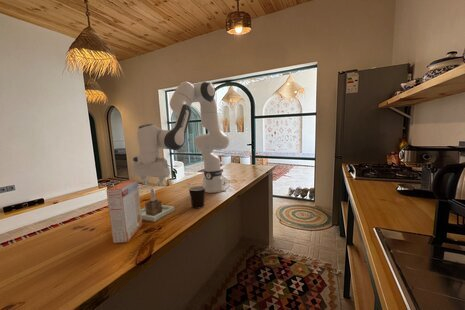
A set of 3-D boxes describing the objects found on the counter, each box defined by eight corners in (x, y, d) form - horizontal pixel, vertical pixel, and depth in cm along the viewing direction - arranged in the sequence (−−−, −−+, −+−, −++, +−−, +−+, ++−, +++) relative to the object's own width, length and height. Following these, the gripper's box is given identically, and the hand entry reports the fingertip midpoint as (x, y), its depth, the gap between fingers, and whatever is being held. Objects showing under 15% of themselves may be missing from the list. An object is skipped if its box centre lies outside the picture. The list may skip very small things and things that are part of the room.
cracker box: (129, 226, 88) (124, 180, 85) (142, 225, 88) (138, 179, 85) (111, 244, 74) (105, 189, 71) (128, 243, 74) (122, 188, 72)
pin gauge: (154, 211, 101) (152, 188, 100) (157, 212, 100) (155, 189, 99) (151, 213, 99) (149, 189, 98) (154, 213, 99) (152, 190, 98)
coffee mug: (202, 209, 104) (201, 190, 103) (187, 208, 106) (186, 190, 105) (209, 201, 115) (208, 184, 114) (195, 201, 117) (194, 184, 116)
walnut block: (154, 210, 104) (153, 199, 103) (162, 211, 101) (161, 200, 101) (145, 214, 99) (144, 202, 98) (154, 215, 96) (153, 203, 96)
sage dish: (154, 207, 109) (153, 203, 109) (174, 210, 104) (174, 206, 103) (132, 217, 96) (131, 213, 96) (154, 222, 91) (154, 217, 91)
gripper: (171, 156, 96) (173, 184, 98) (139, 156, 104) (142, 181, 106) (161, 159, 90) (164, 188, 92) (129, 158, 98) (132, 185, 100)
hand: (152, 185), depth 99 cm, fingers open, 8 cm apart
